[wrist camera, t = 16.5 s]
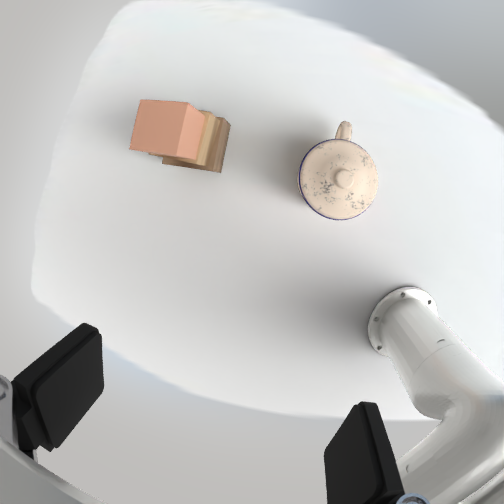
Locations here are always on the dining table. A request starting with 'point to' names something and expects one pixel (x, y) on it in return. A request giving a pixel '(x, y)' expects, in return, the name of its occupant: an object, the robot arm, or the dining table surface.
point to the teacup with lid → (338, 177)
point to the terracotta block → (167, 128)
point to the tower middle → (202, 141)
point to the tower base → (216, 154)
